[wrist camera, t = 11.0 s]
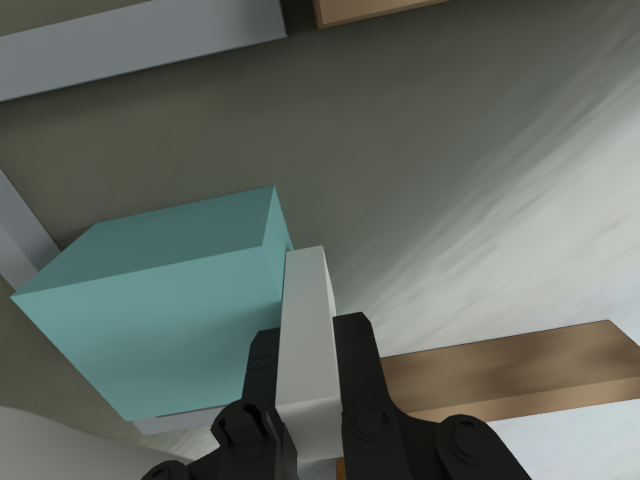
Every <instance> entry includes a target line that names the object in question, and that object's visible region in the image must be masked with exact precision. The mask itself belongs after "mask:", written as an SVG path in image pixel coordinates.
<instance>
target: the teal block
mask: <svg viewBox="0 0 640 480" xmlns="http://www.w3.org/2000/svg"><path fill="white" fill-rule="evenodd" d="M289 251H293V247H292V244H291V240H290V237H289V234H288V230H287V227H286V224H285V220H284V217H283V213H282V210H281V207H280V203H279V200H278V197H277V193H276V190H275V186H274V185H272V186H267V187H262V188H258V189H253V190H248V191H244V192H239V193H234V194H230V195H225V196H220V197H216V198H211V199H206V200H202V201H197V202H192V203H188V204H183V205H178V206H174V207H169V208H164V209H160V210H155V211H150V212H146V213H141V214H136V215H132V216H127V217H122V218H118V219H113V220H108V221H104V222H99V223H95V224H94V225H93V226H92V227H91V228H89V229H88V230H87V231H86V232H85V233H84V234H82V235H81V236H80V237H79V238H78V239H77V240H75V241H74V242H73V243H72V244H71V245H70V246H68V247H67V248H66V249H65V250H64V251H63V252H62V253H60V254H59V255H58V256H57V257H56V258H55V259H53V260H52V261H51V262H50V263H49V264H48V265H46V266H45V267H44V268H43V269H42V270H41V271H39V272H38V273H37V274H36V275H35V276H34V277H32V278H31V279H30V280H29V281H28V282H27V283H25V284H24V285H23V286H22V287H21V288H20V289H18V290H17V291H16V292H15V293H14V294H13V295H12V296H10V298H11V299H12V300H13V301H14V302H15V303H16V304H17V305H18V306H19V307H20V309H21V310H22V311H23V312H24V313H25V314H26V315H27V316H28V317H29V318H30V319H31V320H32V321H33V322H34V324H35V325H36V326H37V327H38V328H39V329H40V330H41V331H42V332H43V333H44V334H45V335H46V336H47V337H48V339H49V340H50V341H51V342H52V343H53V344H54V345H55V346H56V347H57V348H58V349H59V350H60V351H61V352H62V354H63V355H64V356H65V357H66V358H67V359H68V360H69V361H70V362H71V363H72V364H73V365H74V366H75V367H76V369H77V370H78V371H79V372H80V373H81V374H82V375H83V376H84V377H85V378H86V379H87V380H88V381H89V382H90V384H91V385H92V386H93V387H94V388H95V389H96V390H97V391H98V392H99V393H100V394H101V395H102V396H103V397H104V399H105V400H106V401H107V402H108V403H109V404H110V405H111V406H112V407H113V408H114V409H115V410H116V411H117V412H118V414H119V415H120V416H121V417H122V418H123V419H124V420H125V421H132V420H138V419H144V418H149V417H155V416H161V415H167V414H173V413H178V412H184V411H190V410H196V409H202V408H207V407H213V406H219V405H225V404H230V403H231V402H233V401H236V400H239V399H241V396H242V390H243V385H244V379H245V373H246V367H247V361H248V355H249V349H250V344H251V342H252V341H253V339H254V337H255V336H256V334H257V332H258V331H261V330H266V329H272V328H278V327H281V318H282V305H283V291H284V277H285V263H286V252H289Z"/></svg>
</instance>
